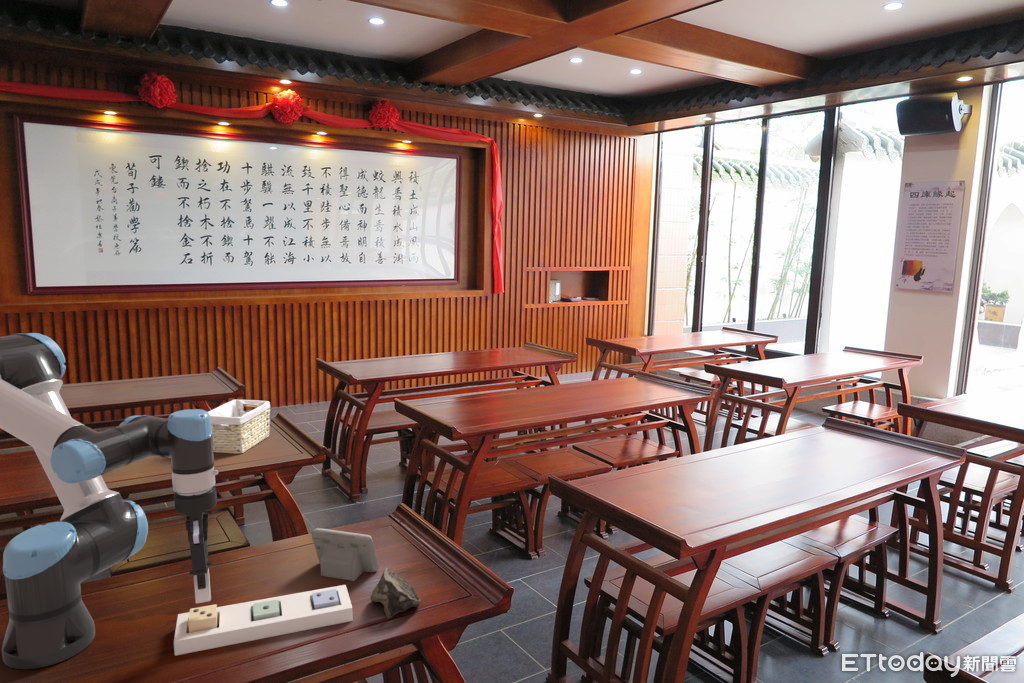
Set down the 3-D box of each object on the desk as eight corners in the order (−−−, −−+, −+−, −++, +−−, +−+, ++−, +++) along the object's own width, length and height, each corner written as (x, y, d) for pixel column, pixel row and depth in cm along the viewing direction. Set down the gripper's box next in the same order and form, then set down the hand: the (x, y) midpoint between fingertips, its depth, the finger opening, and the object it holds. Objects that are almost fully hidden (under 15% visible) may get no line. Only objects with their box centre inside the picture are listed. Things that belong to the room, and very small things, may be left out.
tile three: (189, 638, 133) (188, 621, 132) (191, 624, 137) (189, 608, 137) (216, 633, 135) (215, 616, 134) (217, 620, 139) (216, 603, 139)
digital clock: (382, 571, 164) (382, 530, 162) (359, 588, 156) (358, 545, 154) (331, 556, 171) (329, 516, 169) (305, 571, 163) (304, 530, 161)
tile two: (315, 620, 142) (314, 604, 141) (312, 608, 147) (312, 592, 146) (339, 616, 144) (338, 600, 143) (336, 603, 148) (335, 588, 148)
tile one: (254, 632, 138) (253, 615, 137) (253, 619, 142) (253, 603, 142) (280, 627, 139) (279, 611, 139) (278, 614, 144) (278, 598, 143)
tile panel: (174, 655, 130) (173, 641, 129) (179, 627, 139) (178, 614, 139) (352, 620, 142) (352, 607, 142) (346, 596, 152) (345, 584, 151)
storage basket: (242, 456, 243) (240, 416, 241) (200, 453, 245) (198, 414, 243) (273, 436, 267) (272, 400, 264) (235, 434, 269) (233, 398, 266)
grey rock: (432, 602, 149) (416, 573, 144) (403, 635, 144) (385, 606, 139) (403, 583, 156) (386, 554, 151) (374, 613, 151) (355, 585, 146)
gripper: (214, 498, 127) (222, 613, 130) (216, 475, 139) (224, 581, 142) (170, 504, 124) (180, 621, 128) (176, 480, 136) (185, 588, 140)
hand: (203, 600), depth 135 cm, fingers closed
